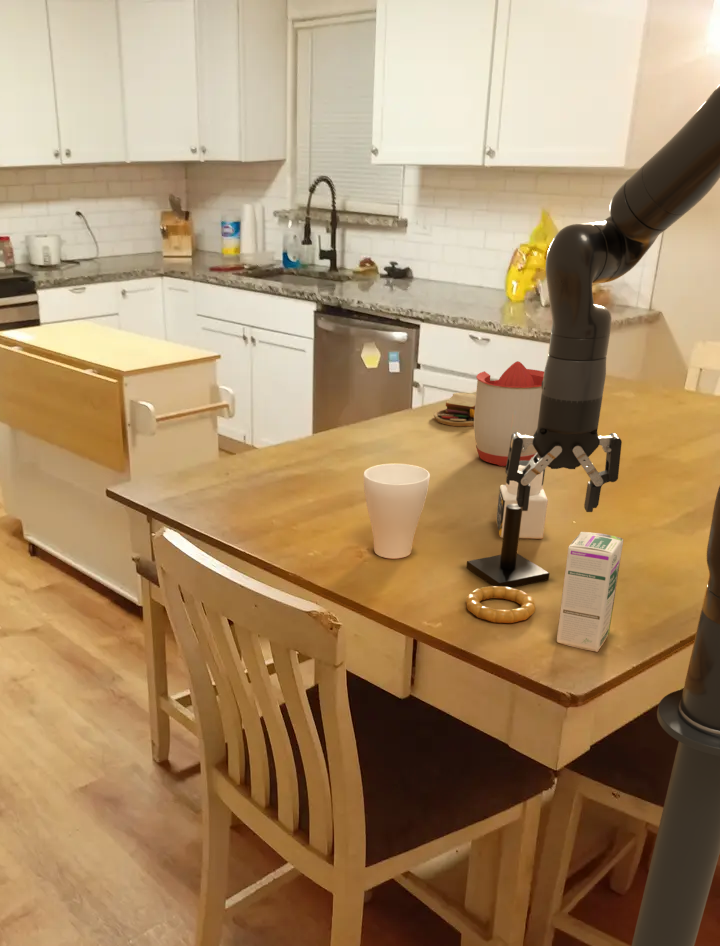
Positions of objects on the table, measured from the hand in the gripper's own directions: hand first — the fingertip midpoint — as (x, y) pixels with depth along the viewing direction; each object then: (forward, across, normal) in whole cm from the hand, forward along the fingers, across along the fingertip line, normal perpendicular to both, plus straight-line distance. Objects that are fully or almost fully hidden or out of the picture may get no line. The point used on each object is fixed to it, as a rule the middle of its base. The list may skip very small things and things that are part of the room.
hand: (556, 509), depth 130 cm
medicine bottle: (+16, +1, +31) cm, 35 cm away
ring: (+15, -6, 0) cm, 16 cm away
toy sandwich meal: (+16, -4, +100) cm, 102 cm away
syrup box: (+16, +4, -8) cm, 18 cm away
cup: (+16, -21, +20) cm, 33 cm away
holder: (+16, -4, +13) cm, 20 cm away
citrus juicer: (+16, +3, +71) cm, 73 cm away
